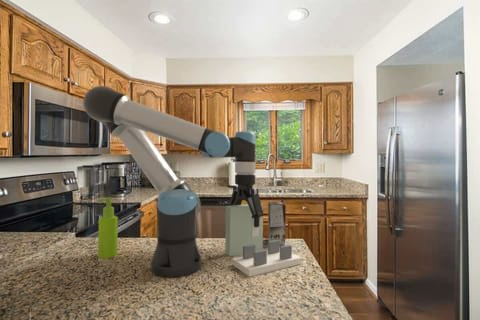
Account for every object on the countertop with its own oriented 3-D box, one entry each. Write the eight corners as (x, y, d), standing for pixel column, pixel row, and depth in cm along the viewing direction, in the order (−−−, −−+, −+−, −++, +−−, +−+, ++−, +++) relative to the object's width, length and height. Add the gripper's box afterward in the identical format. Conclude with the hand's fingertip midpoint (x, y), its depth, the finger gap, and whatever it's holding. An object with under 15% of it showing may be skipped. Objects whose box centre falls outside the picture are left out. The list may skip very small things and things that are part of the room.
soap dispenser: (91, 258, 89) (92, 198, 89) (108, 251, 96) (109, 196, 96) (104, 260, 87) (105, 199, 87) (120, 254, 93) (121, 197, 94)
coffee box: (285, 245, 105) (286, 204, 105) (269, 245, 105) (269, 204, 106) (282, 238, 114) (282, 201, 115) (267, 238, 115) (267, 201, 115)
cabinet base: (249, 276, 76) (249, 255, 76) (232, 265, 84) (232, 246, 85) (301, 263, 86) (301, 245, 86) (281, 254, 95) (281, 237, 95)
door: (232, 257, 91) (232, 208, 91) (225, 253, 95) (225, 206, 95) (265, 251, 98) (265, 205, 98) (257, 247, 102) (257, 203, 103)
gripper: (274, 175, 89) (273, 238, 89) (237, 172, 110) (236, 223, 110) (255, 175, 85) (255, 242, 85) (220, 172, 106) (220, 225, 106)
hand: (244, 231), depth 97 cm, fingers open, 13 cm apart
